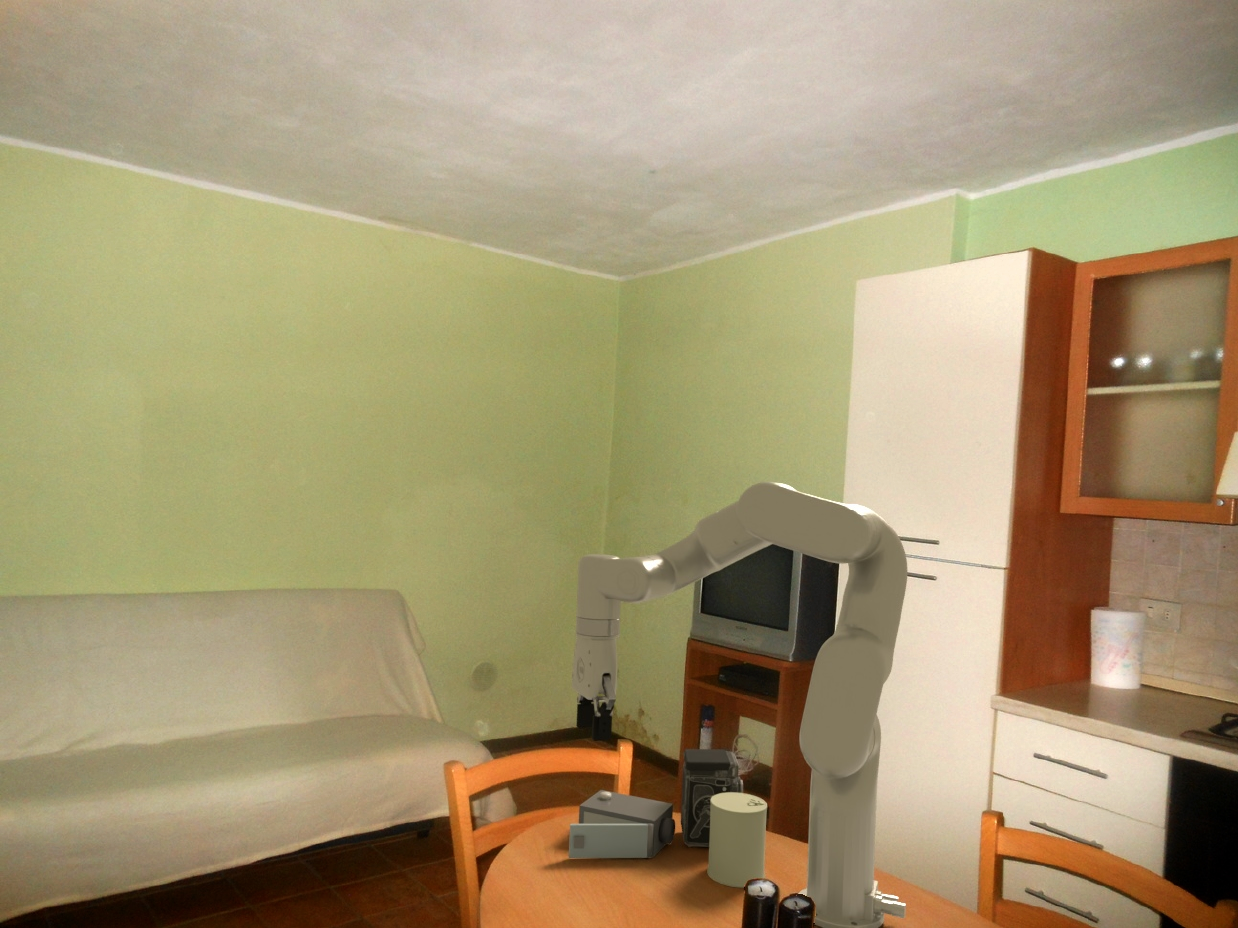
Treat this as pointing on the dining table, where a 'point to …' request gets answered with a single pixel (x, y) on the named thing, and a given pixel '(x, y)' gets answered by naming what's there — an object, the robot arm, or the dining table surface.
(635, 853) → the side door
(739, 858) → the can
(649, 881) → the dining table surface
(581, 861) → the dining table surface
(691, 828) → the camera
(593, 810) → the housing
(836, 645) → the robot arm
